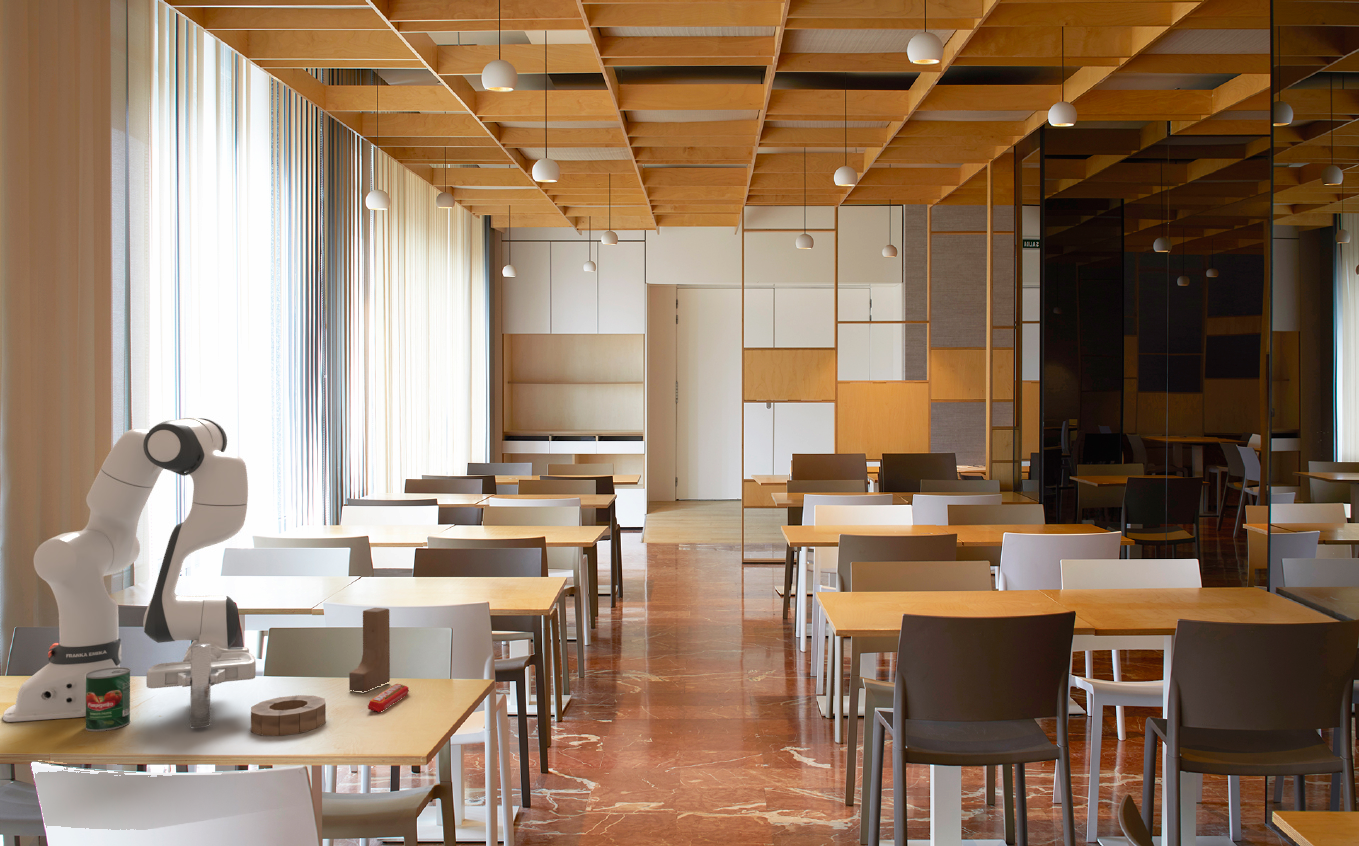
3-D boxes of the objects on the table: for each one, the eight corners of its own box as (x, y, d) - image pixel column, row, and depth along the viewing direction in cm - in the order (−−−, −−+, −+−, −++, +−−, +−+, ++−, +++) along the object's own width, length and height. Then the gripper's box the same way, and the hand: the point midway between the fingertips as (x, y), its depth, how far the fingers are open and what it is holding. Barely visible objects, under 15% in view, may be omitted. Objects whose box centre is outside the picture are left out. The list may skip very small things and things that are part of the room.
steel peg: (189, 728, 184) (190, 648, 184) (190, 723, 187) (191, 644, 187) (209, 726, 185) (210, 646, 186) (210, 721, 189) (211, 643, 189)
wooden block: (363, 693, 212) (363, 615, 212) (348, 691, 213) (348, 613, 214) (390, 683, 220) (390, 608, 220) (375, 682, 222) (375, 607, 222)
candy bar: (381, 715, 196) (381, 701, 196) (364, 715, 196) (364, 701, 196) (411, 694, 212) (411, 681, 212) (396, 694, 212) (396, 681, 212)
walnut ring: (250, 739, 180) (250, 719, 180) (251, 719, 193) (251, 700, 193) (327, 729, 186) (327, 709, 186) (323, 710, 198) (323, 692, 198)
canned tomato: (86, 734, 184) (86, 679, 185) (84, 724, 191) (83, 671, 191) (132, 726, 189) (132, 672, 189) (128, 717, 195) (128, 665, 196)
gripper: (149, 655, 194) (141, 670, 181) (256, 646, 202) (255, 660, 190) (149, 685, 194) (140, 702, 181) (256, 675, 202) (255, 691, 190)
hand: (200, 681), depth 186 cm, fingers closed on steel peg, 4 cm apart
